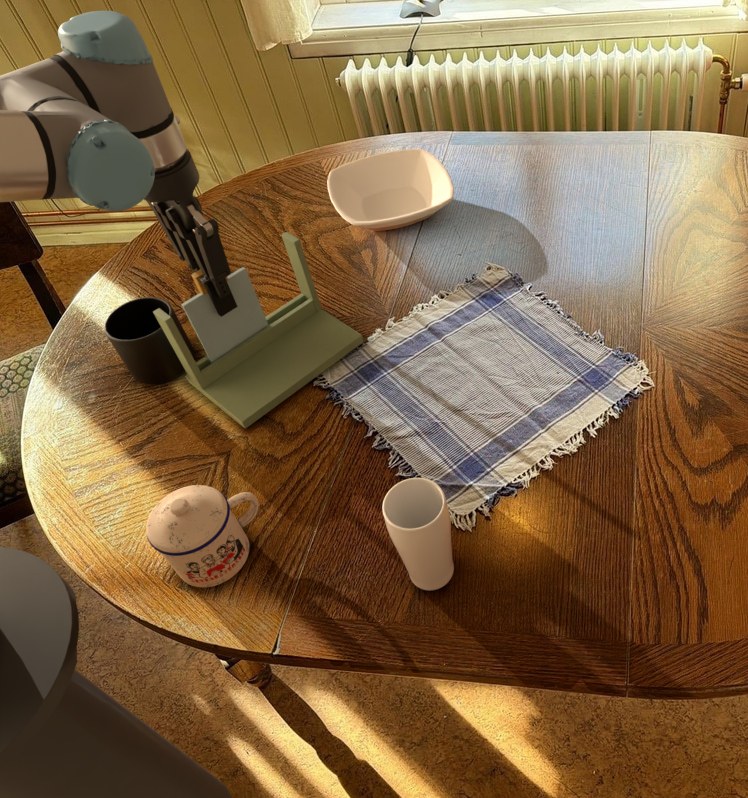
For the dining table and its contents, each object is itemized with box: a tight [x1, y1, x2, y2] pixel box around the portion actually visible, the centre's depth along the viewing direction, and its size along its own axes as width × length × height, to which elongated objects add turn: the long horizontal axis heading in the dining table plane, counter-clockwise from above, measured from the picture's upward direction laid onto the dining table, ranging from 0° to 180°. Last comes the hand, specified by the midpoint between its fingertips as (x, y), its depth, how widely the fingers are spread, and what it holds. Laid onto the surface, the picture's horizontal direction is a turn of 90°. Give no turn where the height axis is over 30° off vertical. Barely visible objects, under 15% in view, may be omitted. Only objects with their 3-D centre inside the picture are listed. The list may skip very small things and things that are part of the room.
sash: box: [181, 266, 269, 364], centre depth 106 cm, size 10×1×16 cm, turn 140°
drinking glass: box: [381, 477, 455, 591], centre depth 83 cm, size 7×7×15 cm
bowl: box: [326, 148, 455, 232], centre depth 136 cm, size 22×22×5 cm
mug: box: [103, 296, 196, 385], centre depth 110 cm, size 9×12×9 cm
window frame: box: [153, 231, 364, 429], centre depth 107 cm, size 22×14×15 cm, turn 140°
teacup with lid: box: [145, 484, 260, 588], centre depth 87 cm, size 12×9×12 cm
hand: (223, 307), depth 105 cm, fingers closed on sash
